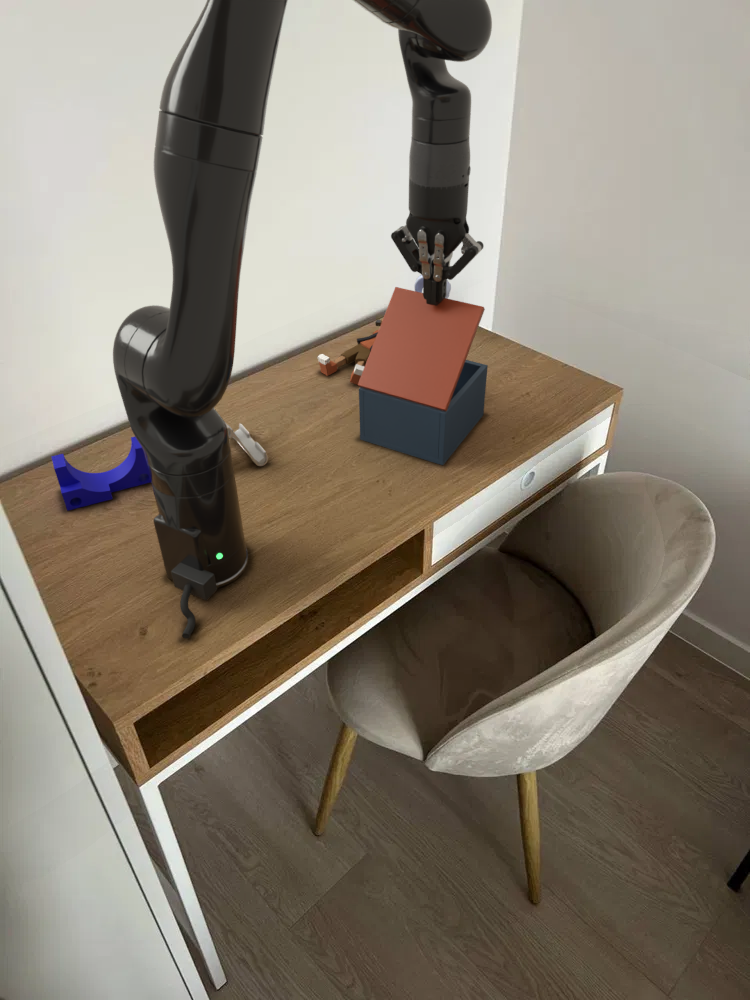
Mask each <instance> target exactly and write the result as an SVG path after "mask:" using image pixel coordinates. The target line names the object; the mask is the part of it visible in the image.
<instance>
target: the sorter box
mask: <svg viewBox="0 0 750 1000" xmlns="http://www.w3.org/2000/svg"><path fill="white" fill-rule="evenodd" d="M488 367H489V365H488V364H485V363H480V362H477V361H473V360H470V359H466V361H465V363H464V366H463V369H462V371H461V374H460V377H459V379H458V382H457V385H456V387H455V390H454V393H453V395H452V398H451V401H450V403H449V406H448V409H447V411H443V410H439V409H436V408H432V407H429V406H425V405H422V404H418V403H415V402H411V401H408V400H404V399H401V398H397V397H394V396H390V395H387V394H383V393H380V392H376V391H372V390H369V389H365V388H362V387H359V388H358V411H359V412H358V413H359V440H360V441H364V442H366V443H369V444H373V445H376V446H380V447H383V448H386V449H389V450H392V451H395V452H399V453H402V454H405V455H408V456H412V457H415V458H418V459H421V460H425V461H427V462H431V463H434V464H437V465H440V466H444V465H445V464H446V463H447V461H449V459H450V457H451V456H452V455H453V454H454V452H455V451H456V450H457V449H458V447H459V446H460V445H461V443H463V441H464V440H465V439H466V438H467V436H468V435H469V434H470V433H471V431H472V430H473V429H474V427H476V425H477V424H478V423H479V422H480V421H481V419H482V418H483V416H484V412H485V403H486V401H485V400H486V390H487V389H486V388H487V379H488Z"/></svg>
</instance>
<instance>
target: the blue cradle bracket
mask: <svg viewBox="0 0 750 1000" xmlns="http://www.w3.org/2000/svg"><path fill="white" fill-rule="evenodd" d="M130 440H131V444H130V445H131V446H130V450H129V453H128V455H127V456H126V458H125V459H124V460H123V461H122V462H121V463H119V464H118V465H117V466H116V467H113V468H112V469H109V470H106V471H102V472H87V471H83V470H80V469H78V468H76V467H74V466H73V465H72V464H71V463H70V462H68V460H67V459H66V457H65V455H64V453H60V454H56V455H51V461H52V464H53V471H54V473H55V476H56V478H57V482H58V484H59V485H58V486H59V488H60V493H61V497H62V500H63V502H64V506H65V508H66V511H67V512H68V511H72V510H75V509H80V508H84V507H87V506H91V505H95V504H99V503H102V502H106V501H111V500H113V494H112V493H115V492H119V491H122V490H127V489H130V488H135V487H139V486H142V485H146V484H150V483H151V478H150V474H149V470H148V466H147V461H146V457H145V453H144V450H143V448H142V446H141V445H140V443H139V442H138V440H137V439H136V437H135V436H131V437H130Z"/></svg>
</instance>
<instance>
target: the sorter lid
mask: <svg viewBox="0 0 750 1000" xmlns="http://www.w3.org/2000/svg"><path fill="white" fill-rule="evenodd" d="M387 305H388V306H387V308H386V310H385V313H384V316H383V317H382V318H383V321H382V323H381V326H379V327H378V329H379V331H378V334H377V336H376V339H375V341H374V344H373V347H372V349H371V352H370V354H369V357H368V360H367V362H366V365H365V367H364V370H363V372H362V375H361V378H360V380H359V383H358V385H357V386H358V387H359V388H360V387H362V388H365V389H369V390H372V391H376V392H380V393H383V394H387V395H390V396H394V397H397V398H401V399H404V400H408V401H411V402H415V403H418V404H422V405H425V406H429V407H432V408H436V409H439V410H443V411H447V409H448V406H449V403H450V401H451V398H452V395H453V393H454V390H455V387H456V385H457V382H458V379H459V377H460V374H461V371H462V369H463V366H464V363H465V361H466V360H467V358H468V356H469V352H470V350H471V347H472V345H473V342H474V339H475V336H476V334H477V332H478V329H479V326H480V324H481V320H482V318H483V315H484V313H485V310H486V309H485V307H484V306H483V305H477V304H474V303H468V302H466V301H465V302H464V301H460V300H455V299H451V298H448V299H447V298H445V299H444V300H443V301H442V302H441V303H439V304H438V305H437V306H434V305H430V304H427V303H426V299H424V297H423V292H422V293H420V292H416V291H415V290H412V289H407V288H403V287H398V286H395V287H394V290H393V292H392V294H391V298H390V300H389V302H388V304H387Z"/></svg>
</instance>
